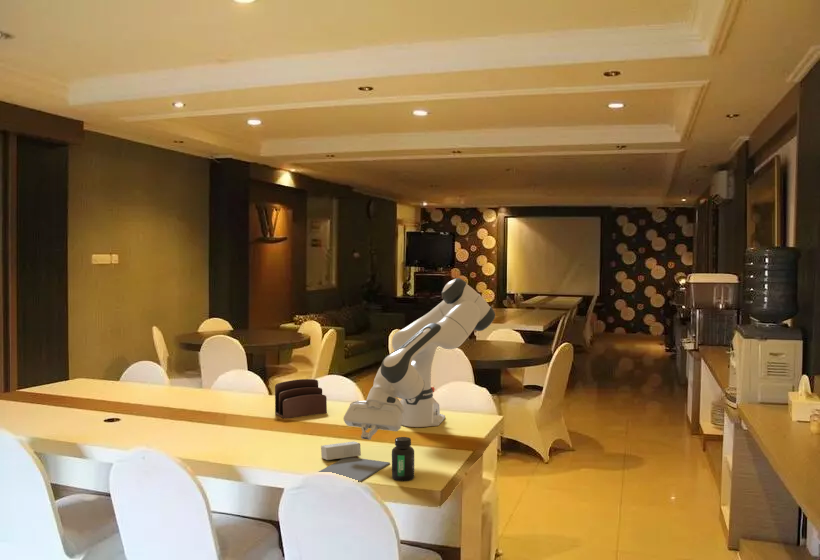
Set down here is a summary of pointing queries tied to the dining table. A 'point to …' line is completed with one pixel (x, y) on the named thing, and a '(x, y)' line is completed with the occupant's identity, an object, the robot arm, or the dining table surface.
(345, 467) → the mat
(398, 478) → the supplement bottle
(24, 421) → the dining table surface
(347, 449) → the skincare box
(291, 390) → the letter holder
